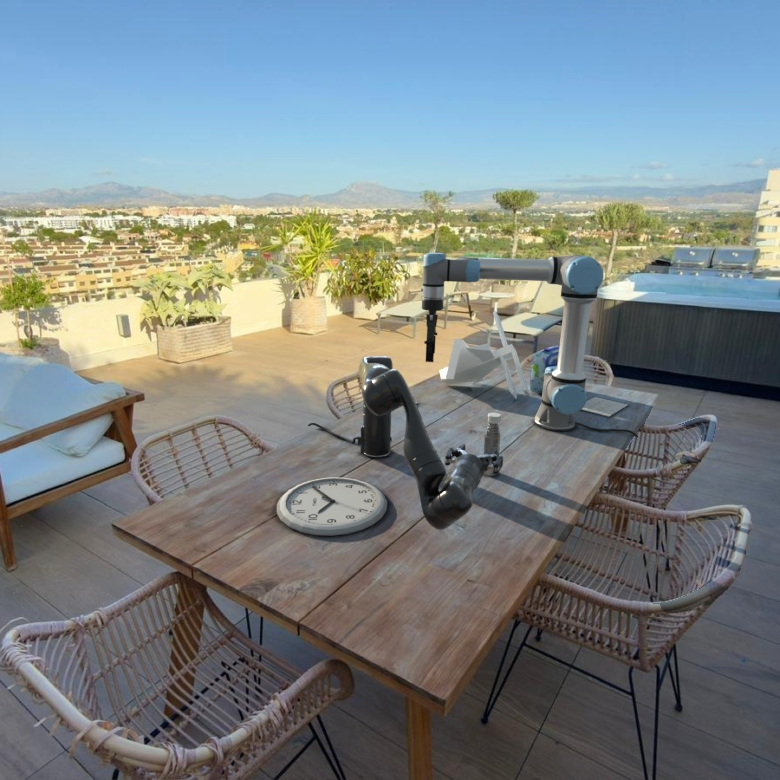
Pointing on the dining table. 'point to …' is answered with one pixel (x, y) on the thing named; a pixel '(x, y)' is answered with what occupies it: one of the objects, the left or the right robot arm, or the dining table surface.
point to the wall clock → (331, 506)
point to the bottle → (491, 443)
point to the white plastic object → (482, 362)
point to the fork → (417, 400)
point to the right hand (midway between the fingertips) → (430, 357)
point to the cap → (494, 418)
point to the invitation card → (603, 406)
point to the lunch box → (542, 367)
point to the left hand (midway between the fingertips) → (479, 449)
